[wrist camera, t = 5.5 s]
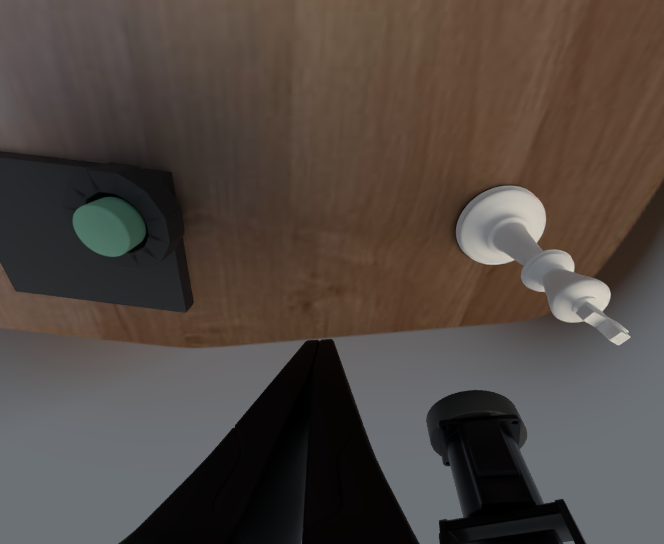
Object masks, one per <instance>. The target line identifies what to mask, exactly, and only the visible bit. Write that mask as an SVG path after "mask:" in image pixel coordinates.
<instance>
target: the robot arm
mask: <svg viewBox="0 0 664 544" xmlns="http://www.w3.org/2000/svg"><path fill="white" fill-rule="evenodd" d="M438 432H439V439H440V447H441V455H442V461H443V464H444V465H445V466H451V470H452V474H453V478H454V482H455V486H456V490H457V494H458V498H459V502H460V506H461V510H462V514H463V518H459V519H453V520H447V519H444V520H439V527H440V533H439V540H440V544H563V542H567V541H574V542H575V544H587V543H586V541H585V540H584V538H583V536H582V534H581V532H580V530H579V528H578V526H577V524H576V522H575V520H574V518H573V517H572V515H571V513H570V511H569V509H568V507H567V505H566V503H565V502H564V500H563V499H559V500H555V502H552V503H546V504H544V503H543V500H542V498H541V496H540V494H539V491H538V489H537V487H536V485H535V483H534V481H533V478H532V476H531V474H530V472H529V470H528V467H527V466H526V463H525V461H524V459H523V457H522V455H521V452H520V450H519V443H520V432H521V420H520V418H519V416H518V415H516V414H511V415H499V416H486V417H474V418H462V419H450V420H441V421H439V422H438ZM301 541H302V544H419V542H418V540H417V538H416V536H415V534H414V533H413V531H412V529H411V527H410V525H409V523H408V521H407V519H406V517H405V515H404V513H403V511H402V509H401V507H400V505H399V503H398V502H397V500H396V498H395V496H394V494H393V492H392V490H391V488H390V486H389V484H388V482H387V480H386V478H385V476H384V474H383V472H382V470H381V468H380V466H379V463H378V461H377V460H376V457H375V454H374V452H373V449H372V447H371V444H370V442H369V439H368V436H367V434H366V431H365V428H364V426H363V423H362V420H361V417H360V414H359V412H358V409H357V406H356V404H355V400H354V397H353V394H352V392H351V389H350V386H349V383H348V380H347V378H346V375H345V372H344V369H343V366H342V364H341V361H340V358H339V355H338V352H337V349H336V347H335V344H334V341H333V340H332V339H325V340H321V341H319V340H308V341H306V342H305V343H304V344H303V345H302V347H301V348H300V349H299V350H298V351H297V352H296V354H295V355H294V356H293V357H292V358H291V360H290V361H289V362H288V363H287V364H286V366H285V367H284V368H283V369H282V370H281V371H280V373H279V374H278V375H277V376H276V377H275V379H274V380H273V381H272V382H271V383H270V385H269V386H268V387H267V388H266V389H265V390H264V392H263V393H262V394H261V395H260V396H259V398H258V399H257V400H256V401H255V402H254V404H253V405H252V406H251V407H250V408H249V409H248V411H247V412H246V413H245V414H244V415H243V417H242V418H241V419H240V420H239V421H238V422H237V424H236V425H235V428H232V429H231V431H230V432H229V433H228V434H227V436H226V437H225V438H224V439H223V440H222V441H221V442H220V443H219V445H218V446H217V447H216V448H215V449H214V450H213V451H212V453H211V454H210V455H209V456H208V457H207V458H206V459H205V460H204V461H203V462H202V463H201V464H200V466H199V467H198V468H197V469H196V470H195V471H194V472H193V473H192V474H191V475H190V476H189V477H188V478H187V479H186V480H185V481H184V482H183V483H182V484H181V485H180V486H179V487H178V488H177V489H176V490H175V491H174V492H173V493H172V494H171V495H170V496H169V497H168V498H167V499H166V500H165V501H164V502H163V503H162V504H161V505H160V506H159V507H158V508H157V509H156V510H155V511H154V512H153V513H152V514H151V515H150V516H149V517H148V518H147V519H146V520H145V521H144V522H143V523H142V524H141V525H140V526H139V527H138V528H137V529H136V530H135V531H134V532H133V533H131V534H130V535H129V536H128V537H127V538H125V539H124V540H123V541H121V542H120V543H119V544H301Z"/></svg>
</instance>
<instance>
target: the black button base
mask: <svg viewBox="0 0 664 544" xmlns="http://www.w3.org/2000/svg"><path fill="white" fill-rule="evenodd" d="M103 197H116V198H120V199H122V200H124V201H126V202H128V203H130V204H131V205H132V206H133V207H135V208H136V209H137V211H138V212H139V213H140V214H141V216H142V218H143V220H144V222H145V225H146V235H145V238H144V240H143V241H142V242H141V243H140V244H138V245H137V246H135V247H134V248H132V249H131V250H129V251H128V252H126V253H125V254H123V255H121V256H117V257H109V256H104V255H101V254H98V253H96V252H94V251H93V250H91V249H90V248H88V247H87V246H86V245H85V244H84V243H83V242H82V241H81V240H80V238H79V237H78V236H77V234H76V232H75V230H74V227H73V215H74V213H75V211H76V210H77V209H78V208H79V207H81V206H83V205H86V204H88V203H91V202H93V201H96V200H98V199H101V198H103ZM180 207H181V206H180V205H179V204H178V202H177V201H176V197H175V191H174V185H173V179H172V173H171V172H167V171H158V170H150V169H142V168H140V167H137V166H132V165H124V164H115V163H108V164H100V163H92V162H84V161H75V160H67V159H59V158H50V157H42V156H34V155H25V154H17V153H9V152H1V151H0V263H1V264H2V266H3V268H4V270H5V272H6V274H7V276H8V278H9V280H10V281H11V283H12V285H13V287H14V289H15V291H19V292H26V293H34V294H42V295H50V296H58V297H66V298H74V299H82V300H90V301H98V302H106V303H113V304H121V305H129V306H137V307H145V308H153V309H161V310H169V311H177V312H185V313H186V312H187V311H188V310H189V308H190V307H191V306H192V305H193V297H192V291H191V286H190V280H189V274H188V268H187V262H186V256H185V250H184V244H183V238H182V236H183V234H184V224H183V218H182V212H181V208H180Z"/></svg>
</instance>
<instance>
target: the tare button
mask: <svg viewBox="0 0 664 544" xmlns="http://www.w3.org/2000/svg"><path fill="white" fill-rule="evenodd" d="M73 227H74V230H75V232H76V234H77V236H78V237H79V238H80V240H81V241H82V242H83V243H84V244H85V245H86V246H87V247H88V248H90V249H91V250H93V251H94V252H96V253H98V254H101V255H104V256H109V257H117V256H121V255H123V254H125V253H126V252H128V251H129V250H131V249H132V248H134V247H135V246H137V245H138V244H140V243H141V242H142V241H143V240H144V238H145V235H146V225H145V222H144V220H143V218H142V216H141V214H140V213H139V212H138V211H137V209H136V208H135V207H133V206H132V205H131V204H130V203H128V202H126V201H124V200H122V199H120V198H116V197H103V198H101V199H98V200H96V201H93V202H91V203H88V204H86V205H83V206H81V207H79V208H78V209H77V210H76V211H75V213H74V215H73Z"/></svg>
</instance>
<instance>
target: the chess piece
mask: <svg viewBox="0 0 664 544" xmlns="http://www.w3.org/2000/svg"><path fill="white" fill-rule="evenodd" d="M545 224H546V213H545V209H544V207H543V205H542V203H541V202H540V200H539V199H538V198H537V197H536V196H535V195H534V194H533V193H531V192H530V191H529V190H527V189H525V188H522V187H518V186H499V187H495V188H492V189H489V190H487V191H485V192H483V193H481V194H480V195H478V196H477V197H475V198H474V199H473V200H472V201H471V202H470V203H469V204H468V205H467V206H466V207H465V209H464V210H463V211H462V213H461V215H460V217H459V219H458V222H457V226H456V238H457V242H458V244H459V246H460V248H461V249H462V251H463V252H464V253H465V254H466V255H468V256H469V257H470V258H471V259H473V260H475V261H477V262H479V263H483V264H488V265H498V264H504V263H508V262H511V261H513V260H516V261H517V262H519V263H520V264H522V265H523V266H524V267H523V269H522V272H521V279H522V282H523V283H524V285H525V286H527V287H528V288H530V289H532V290H534V291H538V292H545V293H546V295H547V298H548V304H549V307H550V310H551V312H552V313H553V315H554V316H555V317H556V318H558V319H560V320H562V321H565V322H582V321H585V322H587V323H589V324H590V325H592V326H594V327H596V328H597V329H598V330H599V331H600V332H601V333H602V334H603V335H604V336H605V337H606V338H607V339H609V340H610V341H611V342H613V343H615V344H617V345H620V344H622V343H623V342H624V341H626V340H627V339H629V338H630V336H629V335H628V334H627V333H628V332H629V331H628V330H627V329H625V328H624V327H623V326H622V325H621V324H620V323H618V322H616V321H614V320H612V319H611V318H609V317H607V316H606V315H605V314H604V313H603V312H602V311H603V310H604V309H605V308H606V306H607V305H608V303H609V301H610V296H611V294H610V290H609V288H608V287H607V285H606V284H604V283H603V282H602V281H599V280H597V279H595V278H591V277H588V276H583V275H579V274H577V273H575V272H574V262H573V260H572V258H571V256H570V255H569V254H568V253H566V252H564V251H562V250H546V251H543V250H542V249H541V248H540V247H539V245H538V244H537V242H538V241H539V239H540V237H541V236H542V234H543V231H544V228H545Z"/></svg>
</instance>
